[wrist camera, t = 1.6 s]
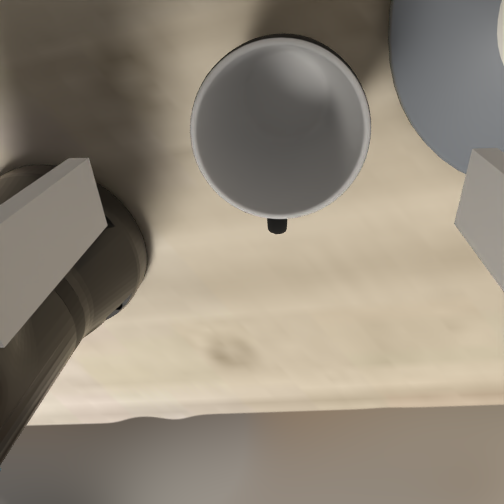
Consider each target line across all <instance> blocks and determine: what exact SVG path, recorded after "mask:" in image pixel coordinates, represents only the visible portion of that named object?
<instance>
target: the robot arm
mask: <svg viewBox="0 0 504 504" xmlns="http://www.w3.org/2000/svg"><path fill="white" fill-rule="evenodd" d="M454 224H455V226H456V227H457V228H458V230H459V231H460V232H461V234H462V235H463V236H464V238H465V239H466V241H467V242H468V243H469V245H470V246H471V247H472V249H473V250H474V252H475V253H476V254H477V256H478V257H479V258H480V260H481V261H482V263H483V264H484V265H485V267H486V268H487V269H488V271H489V272H490V274H491V275H492V276H493V278H494V279H495V280H496V282H497V283H498V285H499V286H500V287H501V289H502V290H503V291H504V153H503V152H502V151H501V150H499V149H498V148H478V149H472V152H471V156H470V160H469V164H468V169H467V173H466V177H465V181H464V185H463V189H462V193H461V198H460V202H459V206H458V210H457V214H456V218H455V223H454ZM146 265H147V254H146V247H145V243H144V239H143V237H142V234H141V232H140V229H139V227H138V225H137V223H136V222H135V220H134V218H133V217H132V216H131V214H130V213H129V211H128V210H127V209H126V208H125V207H124V205H123V204H122V203H121V202H120V201H119V200H118V199H117V198H116V197H115V196H114V195H112V194H111V193H110V192H109V191H108V190H106V189H105V188H104V187H102V186H101V185H99V184H98V183H96V182H95V178H94V174H93V171H92V167H91V164H90V160H89V158H68V159H67V160H65V161H64V162H62V163H61V164H60V165H58V166H57V167H55V166H48V165H31V166H24V167H20V168H17V169H14V170H11V171H9V172H7V173H6V174H4V175H2V176H0V465H1V463H2V462H3V460H4V459H5V457H6V456H7V454H8V453H9V451H10V450H11V448H12V447H13V445H14V443H15V442H16V440H17V439H18V437H19V436H20V434H21V433H22V431H23V429H24V428H25V426H26V425H27V423H28V422H29V420H30V419H31V417H32V416H33V414H34V413H35V411H36V409H37V408H38V406H39V405H40V403H41V402H42V400H43V399H44V397H45V396H46V394H47V392H48V391H49V389H50V388H51V386H52V385H53V383H54V382H55V380H56V379H57V377H58V375H59V374H60V372H61V371H62V369H63V368H64V366H65V365H66V363H67V362H68V360H69V359H70V357H71V355H72V354H73V352H74V351H75V349H76V348H77V346H78V345H79V343H80V341H81V340H82V339H83V338H84V337H85V336H87V335H88V334H89V333H91V332H92V331H94V330H95V329H96V328H98V327H99V326H100V325H101V324H102V323H103V322H104V321H105V320H107V319H109V318H111V317H112V316H114V315H116V314H117V313H118V312H120V311H121V310H122V309H123V308H124V307H125V306H126V305H127V304H128V303H129V302H130V301H131V299H132V298H133V296H134V294H135V293H136V291H137V289H138V288H139V286H140V284H141V282H142V280H143V278H144V275H145V271H146ZM0 470H1V468H0Z"/></svg>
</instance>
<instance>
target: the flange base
mask: <svg viewBox="0 0 504 504" xmlns="http://www.w3.org/2000/svg"><path fill="white" fill-rule="evenodd" d="M388 46H389V61H390V67H391V72H392V77H393V82H394V87H395V90H396V92H397V95H398V98H399V101H400V104H401V106H402V108H403V110H404V112H405V114H406V116H407V118H408V120H409V122H410V123H411V125H412V126H413V128H414V129H415V130H416V132H417V133H418V134H419V136H420V137H421V138H422V140H423V141H424V142H425V143H426V144H427V145H428V146H429V147H430V148H431V149H432V150H433V151H434V152H435V153H436V154H437V155H438V156H439V157H440V158H441V159H442V160H444V161H445V162H447V163H448V164H450V165H451V166H453V167H454V168H455V169H457V170H459V171H461V172H463V173H465V174H466V173H467V169H468V164H469V160H470V156H471V152H472V149H478V148H498V149H499V150H501V151H502V152H503V153H504V0H391V5H390V11H389V29H388Z"/></svg>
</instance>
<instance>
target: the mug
mask: <svg viewBox="0 0 504 504" xmlns="http://www.w3.org/2000/svg"><path fill="white" fill-rule="evenodd" d="M190 135H191V144H192V149H193V153H194V156H195V159H196V162H197V164H198V167H199V169H200V171H201V173H202V174H203V176H204V178H205V179H206V181H207V182H208V184H209V185H210V186H211V187H212V188H213V190H214V191H215V192H216V193H217V194H218V195H219V196H221V197H222V198H223V199H224V200H225V201H227V202H228V203H230V204H231V205H233V206H234V207H236V208H238V209H240V210H242V211H244V212H246V213H249V214H252V215H255V216H259V217H264V218H267V223H268V230H269V231H270V232H271V233H274V234H281V233H284V232H285V231H286V229H287V219H289V218H296V217H301V216H305V215H308V214H311V213H314V212H316V211H318V210H320V209H322V208H324V207H326V206H327V205H329V204H330V203H332V202H333V201H335V200H336V199H337V198H338V197H339V196H341V195H342V194H343V193H344V192H345V191H346V190H347V189H348V188H349V186H350V185H351V184H352V183H353V181H354V180H355V178H356V177H357V175H358V173H359V172H360V170H361V168H362V166H363V163H364V161H365V159H366V155H367V152H368V148H369V143H370V136H371V117H370V110H369V105H368V101H367V98H366V95H365V93H364V90H363V88H362V86H361V84H360V82H359V80H358V78H357V76H356V75H355V73H354V72H353V71H352V69H351V68H350V66H349V65H348V64H347V63H346V62H345V61H344V60H343V59H342V58H341V57H340V56H339V55H338V54H337V53H335V52H334V51H333V50H331V49H330V48H329V47H327V46H325V45H324V44H322V43H320V42H318V41H316V40H313V39H311V38H308V37H305V36H301V35H295V34H272V35H266V36H262V37H259V38H255V39H253V40H250V41H248V42H246V43H244V44H242V45H240V46H238V47H236V48H235V49H233V50H232V51H231V52H229V53H228V54H227V55H225V56H224V57H223V58H222V59H221V60H220V61H219V62H218V63H217V64H216V65H215V66H214V67H213V68H212V70H211V71H210V72H209V73H208V75H207V76H206V78H205V79H204V81H203V83H202V84H201V86H200V88H199V91H198V93H197V96H196V98H195V101H194V105H193V109H192V114H191V124H190Z"/></svg>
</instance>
